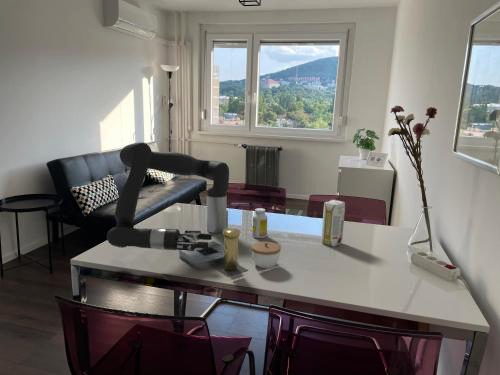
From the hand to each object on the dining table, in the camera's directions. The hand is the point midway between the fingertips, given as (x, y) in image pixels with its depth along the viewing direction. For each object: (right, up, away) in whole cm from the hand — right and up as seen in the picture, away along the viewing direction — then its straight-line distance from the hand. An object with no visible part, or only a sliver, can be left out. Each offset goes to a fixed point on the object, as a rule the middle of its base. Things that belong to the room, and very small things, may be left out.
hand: (209, 240), depth 135 cm
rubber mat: (+7, -11, +2) cm, 13 cm away
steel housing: (-2, -9, +11) cm, 14 cm away
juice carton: (+51, -6, +32) cm, 60 cm away
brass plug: (+7, -10, +2) cm, 13 cm away
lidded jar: (+20, -11, +7) cm, 24 cm away
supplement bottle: (+19, -4, +39) cm, 44 cm away
